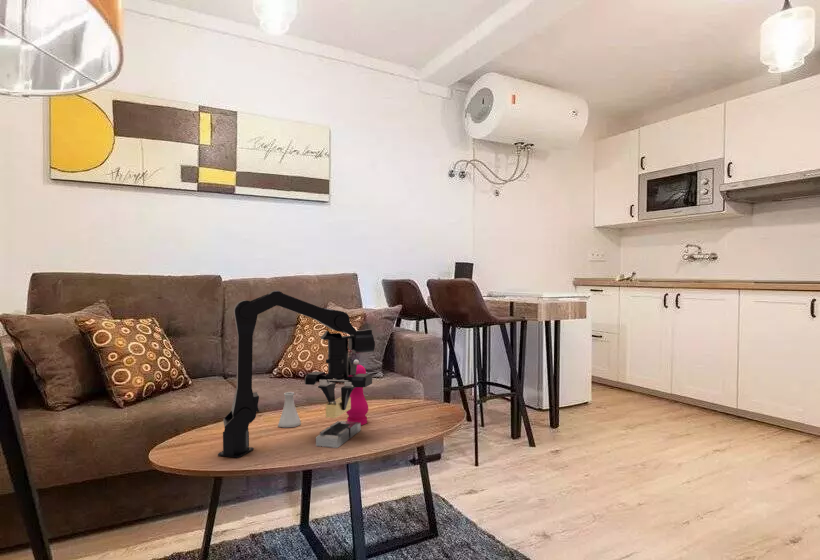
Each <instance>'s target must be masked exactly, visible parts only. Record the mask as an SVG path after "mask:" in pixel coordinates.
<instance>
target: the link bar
mask: <svg viewBox="0 0 820 560" xmlns="http://www.w3.org/2000/svg"><path fill="white" fill-rule="evenodd" d="M350 409H351V397H349V400H348V403H347V406H346V409H345V410H343V409H342V397H341V396H339V397H338V398H335V400H334V401H330V403H329V402H328V403H326V404H325V418H329V419H337V418H338V417H341V416H342V415H344V414H346V412H347V411H348V410H350Z"/></svg>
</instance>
